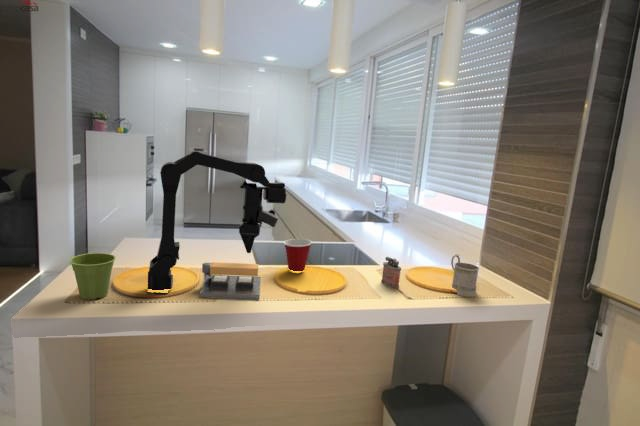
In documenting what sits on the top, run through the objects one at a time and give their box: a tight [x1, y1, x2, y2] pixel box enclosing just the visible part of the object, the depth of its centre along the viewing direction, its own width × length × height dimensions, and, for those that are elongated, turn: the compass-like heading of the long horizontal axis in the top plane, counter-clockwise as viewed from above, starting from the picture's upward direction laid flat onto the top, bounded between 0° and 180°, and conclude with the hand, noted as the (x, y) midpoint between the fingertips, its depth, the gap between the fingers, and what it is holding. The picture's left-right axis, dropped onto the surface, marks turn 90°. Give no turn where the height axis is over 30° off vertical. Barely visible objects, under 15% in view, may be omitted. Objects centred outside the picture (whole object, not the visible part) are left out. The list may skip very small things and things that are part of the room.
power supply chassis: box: [199, 273, 262, 300], centre depth 136 cm, size 18×17×5 cm
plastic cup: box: [283, 238, 313, 271], centre depth 158 cm, size 11×11×12 cm
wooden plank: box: [201, 261, 259, 277], centre depth 135 cm, size 18×5×2 cm, turn 97°
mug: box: [450, 253, 480, 298], centre depth 153 cm, size 14×10×12 cm
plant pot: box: [68, 252, 117, 301], centre depth 121 cm, size 12×12×11 cm
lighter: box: [380, 256, 402, 290], centre depth 152 cm, size 8×3×10 cm, turn 34°
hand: (250, 249), depth 137 cm, fingers open, 9 cm apart
